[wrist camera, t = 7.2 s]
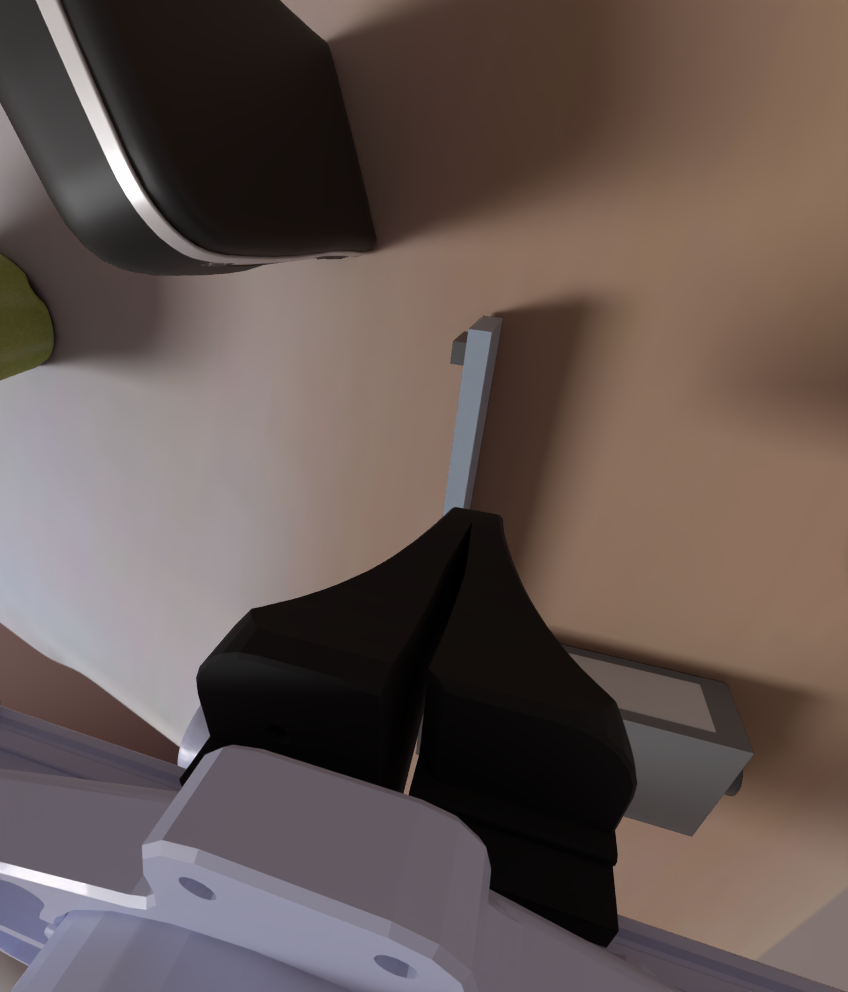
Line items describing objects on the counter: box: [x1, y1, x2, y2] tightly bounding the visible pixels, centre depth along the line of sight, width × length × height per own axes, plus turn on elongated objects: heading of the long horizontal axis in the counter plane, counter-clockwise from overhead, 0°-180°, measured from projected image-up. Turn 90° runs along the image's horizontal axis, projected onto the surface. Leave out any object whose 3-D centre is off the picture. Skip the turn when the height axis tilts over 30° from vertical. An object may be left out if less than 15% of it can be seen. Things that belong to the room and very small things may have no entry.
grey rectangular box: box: [416, 644, 754, 837], centre depth 26 cm, size 17×8×4 cm, turn 86°
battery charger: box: [0, 0, 376, 276], centre depth 13 cm, size 7×4×11 cm, turn 14°
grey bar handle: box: [443, 316, 503, 516], centre depth 21 cm, size 17×2×4 cm, turn 174°
